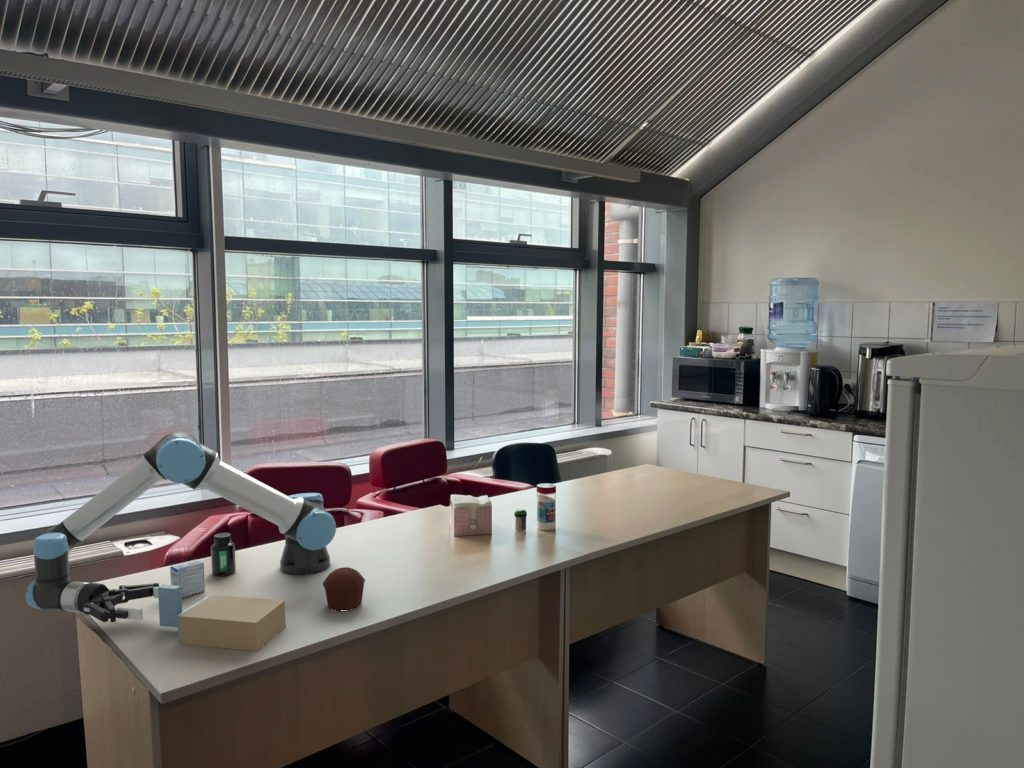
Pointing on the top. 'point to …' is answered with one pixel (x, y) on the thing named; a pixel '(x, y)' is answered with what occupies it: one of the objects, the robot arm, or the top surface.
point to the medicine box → (188, 577)
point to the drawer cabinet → (233, 622)
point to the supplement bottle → (223, 555)
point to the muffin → (344, 589)
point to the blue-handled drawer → (172, 606)
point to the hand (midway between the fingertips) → (159, 603)
